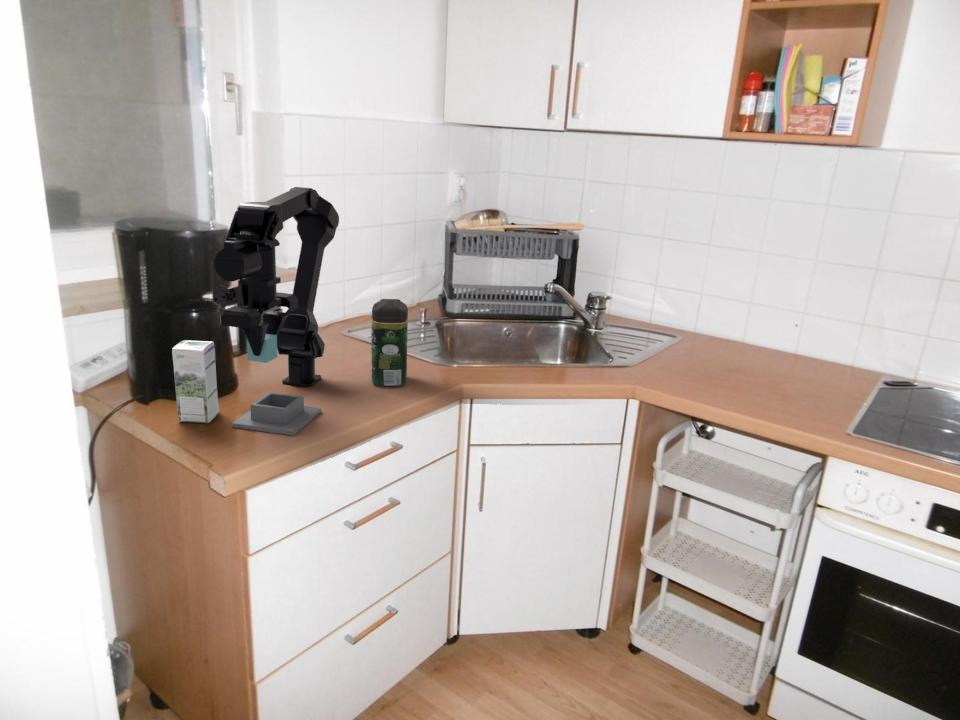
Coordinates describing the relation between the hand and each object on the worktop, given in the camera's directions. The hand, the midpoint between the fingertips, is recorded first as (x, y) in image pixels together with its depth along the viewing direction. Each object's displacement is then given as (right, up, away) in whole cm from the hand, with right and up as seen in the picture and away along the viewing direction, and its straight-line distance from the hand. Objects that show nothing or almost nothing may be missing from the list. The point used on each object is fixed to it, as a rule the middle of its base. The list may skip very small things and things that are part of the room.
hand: (262, 352), depth 130 cm
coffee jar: (+22, -6, +21) cm, 31 cm away
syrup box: (-11, -12, -3) cm, 17 cm away
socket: (+4, -13, -2) cm, 13 cm away
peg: (0, -1, 0) cm, 1 cm away
